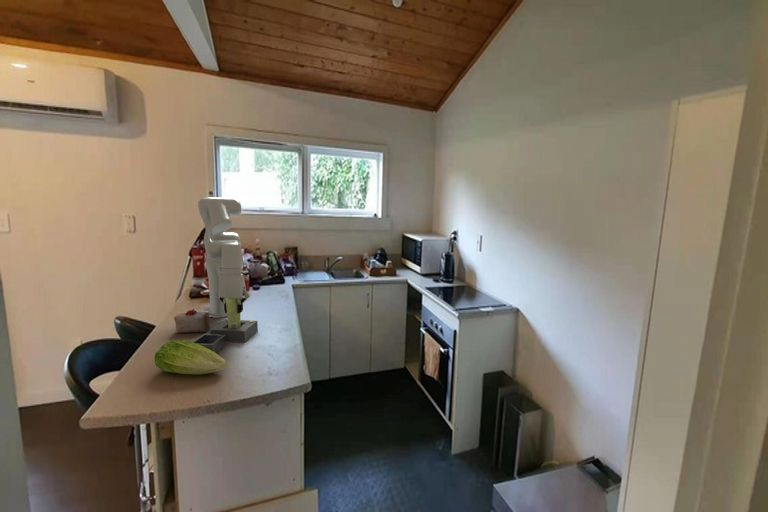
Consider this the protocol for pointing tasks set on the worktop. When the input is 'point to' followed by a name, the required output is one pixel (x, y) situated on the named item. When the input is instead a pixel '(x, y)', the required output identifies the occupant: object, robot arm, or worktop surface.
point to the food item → (192, 322)
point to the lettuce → (188, 358)
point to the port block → (236, 330)
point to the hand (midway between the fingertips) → (233, 311)
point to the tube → (232, 313)
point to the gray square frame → (212, 341)
